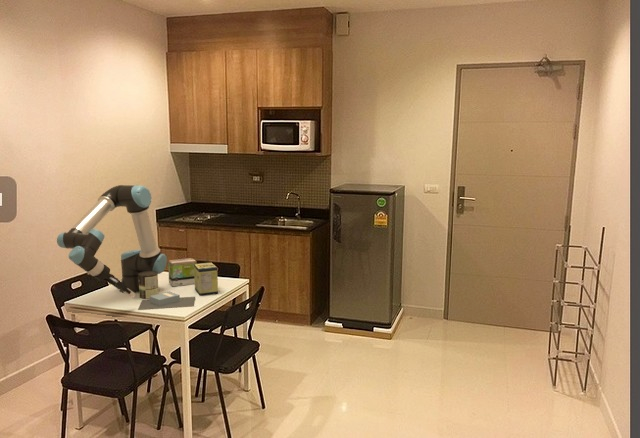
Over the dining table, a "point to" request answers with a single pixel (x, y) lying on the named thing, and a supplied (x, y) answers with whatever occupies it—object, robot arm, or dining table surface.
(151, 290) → the coffee can
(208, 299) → the dining table surface
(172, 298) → the blue-grey box
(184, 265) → the tea box
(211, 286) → the protein box
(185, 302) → the mat
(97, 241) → the robot arm
